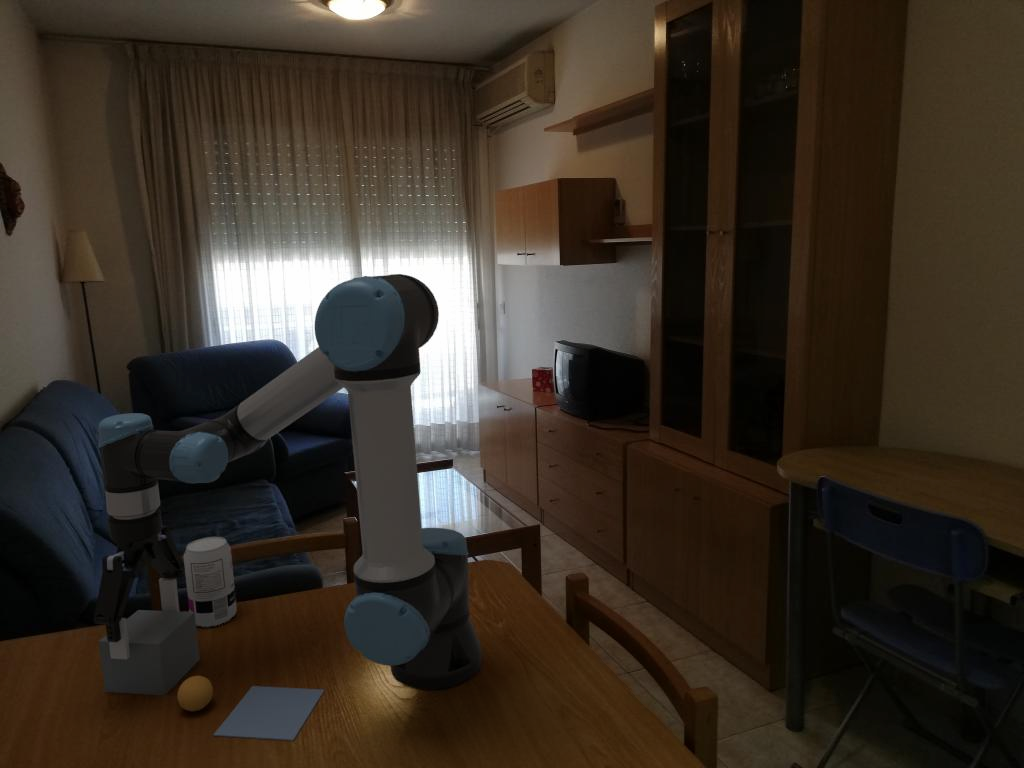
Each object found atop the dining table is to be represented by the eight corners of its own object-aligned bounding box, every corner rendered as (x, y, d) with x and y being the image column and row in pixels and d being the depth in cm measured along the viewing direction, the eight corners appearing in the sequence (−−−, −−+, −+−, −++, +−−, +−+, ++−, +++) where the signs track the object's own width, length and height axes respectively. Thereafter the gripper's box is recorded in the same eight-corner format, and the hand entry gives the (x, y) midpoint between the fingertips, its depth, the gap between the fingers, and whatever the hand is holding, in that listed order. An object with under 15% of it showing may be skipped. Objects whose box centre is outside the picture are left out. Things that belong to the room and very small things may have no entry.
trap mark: (324, 690, 116) (324, 689, 116) (293, 740, 104) (293, 739, 104) (252, 687, 117) (252, 686, 117) (213, 736, 105) (213, 734, 105)
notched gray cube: (199, 659, 125) (194, 612, 124) (165, 695, 115) (158, 644, 114) (144, 657, 127) (138, 609, 125) (105, 692, 117) (98, 641, 115)
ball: (220, 699, 114) (217, 669, 113) (203, 719, 109) (200, 688, 108) (190, 697, 115) (187, 668, 114) (172, 717, 110) (168, 687, 109)
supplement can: (181, 624, 138) (172, 548, 135) (215, 604, 145) (208, 533, 142) (212, 632, 134) (204, 555, 132) (246, 612, 142) (239, 539, 139)
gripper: (158, 485, 129) (169, 597, 132) (55, 541, 104) (72, 677, 108) (198, 486, 128) (208, 600, 132) (103, 543, 103) (119, 680, 107)
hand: (147, 635), depth 120 cm, fingers open, 13 cm apart
